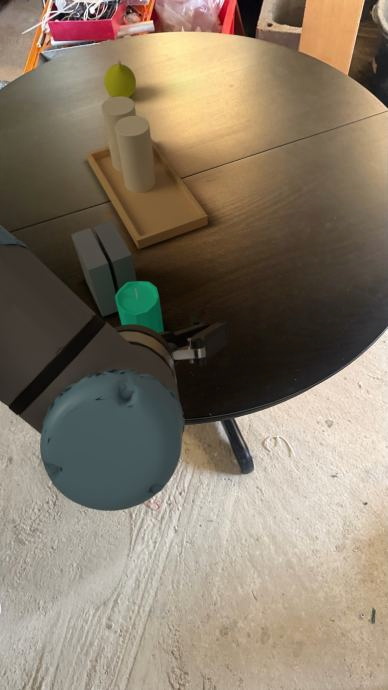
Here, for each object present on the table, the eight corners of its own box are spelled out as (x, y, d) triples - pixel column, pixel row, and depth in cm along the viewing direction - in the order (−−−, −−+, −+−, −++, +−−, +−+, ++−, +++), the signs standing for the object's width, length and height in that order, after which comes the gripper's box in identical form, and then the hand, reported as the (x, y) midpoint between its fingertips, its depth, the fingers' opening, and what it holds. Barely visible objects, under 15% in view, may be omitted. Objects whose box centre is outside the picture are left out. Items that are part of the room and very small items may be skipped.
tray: (88, 162, 97) (86, 153, 95) (149, 143, 100) (148, 134, 98) (138, 249, 83) (137, 240, 82) (207, 224, 86) (207, 215, 85)
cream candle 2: (120, 178, 93) (110, 121, 83) (148, 169, 94) (141, 112, 84) (131, 196, 90) (122, 139, 80) (160, 187, 91) (154, 129, 81)
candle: (172, 333, 73) (166, 282, 63) (151, 362, 71) (141, 313, 61) (140, 317, 75) (129, 266, 65) (118, 345, 72) (103, 295, 62)
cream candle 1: (108, 159, 97) (96, 101, 87) (135, 150, 98) (127, 93, 88) (118, 175, 94) (108, 118, 84) (146, 166, 95) (139, 109, 85)
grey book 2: (106, 275, 80) (93, 226, 71) (123, 269, 81) (112, 220, 72) (123, 309, 76) (112, 261, 67) (141, 302, 77) (131, 254, 68)
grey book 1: (86, 282, 80) (70, 234, 70) (103, 276, 80) (90, 227, 71) (102, 317, 75) (88, 270, 66) (120, 310, 76) (108, 263, 67)
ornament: (126, 109, 107) (119, 63, 99) (101, 101, 109) (92, 55, 101) (143, 93, 111) (138, 48, 102) (118, 86, 113) (111, 40, 104)
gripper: (-15, 438, 39) (45, 372, 60) (282, 399, 40) (240, 348, 61) (-34, 349, 37) (34, 313, 58) (275, 312, 39) (235, 290, 59)
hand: (140, 331), depth 60 cm, fingers open, 13 cm apart
